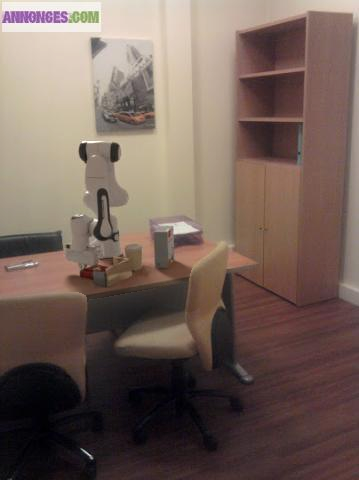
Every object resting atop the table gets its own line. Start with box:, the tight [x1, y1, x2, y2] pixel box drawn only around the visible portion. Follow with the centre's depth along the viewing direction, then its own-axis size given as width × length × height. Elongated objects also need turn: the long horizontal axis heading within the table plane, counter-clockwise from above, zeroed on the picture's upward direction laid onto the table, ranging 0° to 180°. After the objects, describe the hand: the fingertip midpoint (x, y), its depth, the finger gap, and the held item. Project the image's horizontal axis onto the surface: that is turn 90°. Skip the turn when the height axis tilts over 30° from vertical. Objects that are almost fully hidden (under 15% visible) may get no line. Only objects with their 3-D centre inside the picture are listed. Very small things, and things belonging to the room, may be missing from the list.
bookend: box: [93, 271, 108, 288], centre depth 223 cm, size 7×2×7 cm, turn 58°
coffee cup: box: [124, 243, 143, 271], centre depth 246 cm, size 9×9×12 cm
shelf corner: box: [106, 256, 133, 288], centre depth 230 cm, size 10×18×9 cm, turn 148°
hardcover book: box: [79, 263, 109, 281], centre depth 235 cm, size 12×21×4 cm, turn 55°
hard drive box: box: [153, 224, 175, 269], centre depth 250 cm, size 16×8×20 cm, turn 168°
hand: (83, 271), depth 241 cm, fingers closed
